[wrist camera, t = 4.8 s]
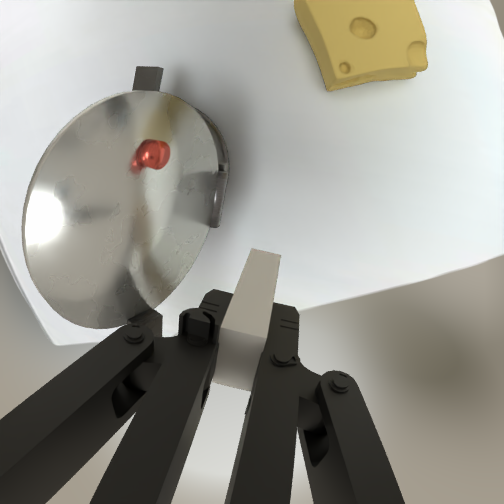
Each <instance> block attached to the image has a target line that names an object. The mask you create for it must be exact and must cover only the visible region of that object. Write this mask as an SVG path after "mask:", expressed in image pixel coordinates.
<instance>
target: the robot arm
mask: <svg viewBox="0 0 504 504" xmlns="http://www.w3.org/2000/svg"><path fill="white" fill-rule="evenodd" d="M280 258H281V255H279V254H274V253H270V252H265V251H261V250H257V249H251V251H250V254H249V256H248V259H247V261H246V264H245V266H244V269H243V271H242V274H241V277H240V279H239V282H238V284H237V287H236V289H235V292H234V294H232V293H228V292H224V291H220V290H215V289H213V290H211V291H210V292H208V293H207V294H206V295H205V296H204V298H203V300H202V302H201V304H200V306H199V308H191V309H187V310H185V311H183V312H182V313H181V314H180V315H179V331H178V336H174V337H154V334H153V332H152V330H151V329H149V328H148V327H147V326H144V325H141V324H134V323H132V324H127V325H124V326H122V327H120V328H119V329H117V330H116V331H115V332H113V333H112V334H111V335H109V336H108V337H107V338H105V339H104V340H103V341H101V342H100V343H99V344H98V345H96V346H95V347H93V348H92V349H91V350H90V351H88V352H87V353H86V354H84V355H83V356H82V357H80V358H79V359H78V360H76V361H75V362H74V363H73V364H71V365H70V366H69V367H67V368H66V369H65V370H63V371H62V372H61V373H60V374H58V375H57V376H56V377H54V378H53V379H52V380H50V381H49V382H48V383H46V384H45V385H44V386H43V387H41V388H40V389H39V390H37V391H36V392H35V393H34V394H32V395H31V396H30V397H28V398H27V399H26V400H25V401H23V402H22V403H21V404H20V405H18V406H17V407H16V408H15V409H13V410H12V411H11V412H10V413H8V414H7V415H6V416H4V417H3V418H2V419H1V420H0V504H45V503H46V502H48V501H49V500H50V499H51V498H52V497H53V496H54V495H55V494H56V493H57V492H58V491H59V490H60V489H61V488H62V487H63V486H64V485H65V484H66V483H67V482H68V481H69V480H70V479H71V478H72V477H73V476H74V475H75V474H76V473H77V472H78V471H79V470H80V469H81V468H82V467H83V466H84V465H85V464H86V463H87V462H88V461H89V460H90V459H91V458H92V457H93V456H94V455H95V454H96V453H97V452H98V451H99V449H100V448H101V447H102V446H103V445H104V444H105V443H106V442H107V441H108V440H109V439H110V438H111V437H112V436H113V435H114V434H115V433H116V432H117V431H118V430H119V429H120V428H121V427H122V426H123V425H124V423H126V422H127V420H128V419H130V418H131V416H132V415H133V414H134V413H135V412H136V411H137V412H136V413H135V415H134V417H133V419H132V421H131V423H130V425H129V427H128V429H127V431H126V433H125V435H124V436H123V438H122V441H121V442H120V444H119V446H118V448H117V450H116V452H115V454H114V456H113V458H112V460H111V462H110V464H109V466H108V468H107V470H106V471H105V473H104V475H103V477H102V479H101V481H100V483H99V485H98V487H97V490H96V492H95V493H94V496H93V498H92V499H91V501H90V504H171V501H172V499H173V496H174V493H175V490H176V487H177V484H178V481H179V479H180V476H181V473H182V470H183V467H184V464H185V461H186V458H187V456H188V453H189V450H190V447H191V444H192V441H193V438H194V435H195V432H196V430H197V427H198V424H199V421H200V418H201V415H202V412H203V409H204V406H205V403H206V401H207V398H208V395H209V390H210V384H211V381H212V382H214V383H217V384H221V385H225V386H229V387H233V388H238V389H242V390H246V391H251V395H250V398H249V402H248V405H247V408H246V411H245V414H246V415H245V419H244V423H243V428H242V433H241V437H240V441H239V445H238V451H237V454H236V458H235V462H234V467H233V471H232V475H231V479H230V483H229V487H228V491H227V495H226V499H225V504H290V498H291V488H292V478H293V468H294V458H295V445H296V434H297V430H298V434H299V439H300V443H301V448H302V452H303V457H304V461H305V466H306V470H307V475H308V479H309V484H310V488H311V493H312V498H313V502H314V504H405V502H404V500H403V497H402V494H401V491H400V489H399V486H398V483H397V481H396V478H395V476H394V473H393V470H392V468H391V465H390V463H389V460H388V458H387V455H386V452H385V450H384V447H383V445H382V442H381V440H380V437H379V435H378V433H377V430H376V428H375V425H374V423H373V421H372V418H371V416H370V413H369V411H368V408H367V406H366V404H365V401H364V399H363V396H362V394H361V392H360V390H359V387H358V385H357V383H356V382H355V380H354V379H353V378H352V377H351V376H349V375H348V374H346V373H344V372H341V371H335V370H334V371H328V372H326V373H325V374H323V375H322V376H321V375H318V374H316V373H314V372H312V371H310V370H308V369H307V368H306V367H304V366H303V365H302V363H301V362H300V358H299V357H298V337H299V313H298V312H297V310H296V308H295V307H292V306H288V305H283V304H279V303H274V302H273V300H274V294H275V288H276V282H277V276H278V270H279V264H280ZM212 378H213V380H212Z"/></svg>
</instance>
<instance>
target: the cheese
mask: <svg viewBox="0 0 504 504" xmlns="http://www.w3.org/2000/svg"><path fill="white" fill-rule="evenodd" d="M294 9H295V13H296V16H297V19H298V21H299V23H300V26H301V27H302V29H303V31H304V33H305V35H306V37H307V39H308V41H309V43H310V45H311V47H312V50H313V52H314V54H315V57H316V59H317V62H318V65H319V67H320V70H321V73H322V76H323V79H324V83H325V86H326V89H327V91H334V90H338V89H342V88H347V87H351V86H356V85H360V84H363V83H367V82H371V81H386V80H399V79H411V78H414V77H415V76H416V72H421V71H424V70H426V69H427V67H428V62H427V57H426V44H427V40H426V33H425V30H424V26H423V24H422V21H421V18H420V16H419V13H418V10H417V8H416V5H415V2H414V0H294Z"/></svg>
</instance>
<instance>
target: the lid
mask: <svg viewBox="0 0 504 504" xmlns="http://www.w3.org/2000/svg"><path fill="white" fill-rule="evenodd" d="M228 173H229V172H227V171H223V170H218V159H217V153H216V149H215V145H214V141H213V138H212V136H211V133H210V131H209V129H208V127H207V125H206V123H205V121H204V120H203V119H202V117H201V116H200V115H199V113H198V112H197V111H196V110H195V109H194V108H193V107H191V106H190V105H189V104H188V103H186V102H185V101H183V100H182V99H180V98H178V97H175V96H173V95H171V94H168V93H163V92H159V91H128V92H122V93H118V94H115V95H112V96H109V97H106V98H104V99H102V100H100V101H98V102H96V103H94V104H92V105H90V106H89V107H87V108H86V109H84V110H83V111H82V112H80V113H79V114H78V115H76V116H75V117H74V118H73V119H72V120H70V121H69V122H68V123H67V124H66V125H65V126H64V127H63V128H62V129H61V130H60V131H59V133H58V134H57V135H56V137H55V138H54V139H53V140H52V142H51V143H50V144H49V146H48V147H47V149H46V150H45V152H44V154H43V155H42V157H41V159H40V161H39V163H38V164H37V166H36V169H35V171H34V174H33V176H32V179H31V181H30V184H29V186H28V190H27V194H26V198H25V203H24V207H23V217H22V246H23V252H24V257H25V261H26V265H27V268H28V271H29V273H30V276H31V279H32V281H33V283H34V284H35V286H36V288H37V290H38V291H39V293H40V294H41V295H42V297H43V298H44V299H45V300H46V301H47V303H48V304H49V305H50V306H51V307H52V308H53V310H55V311H56V312H57V313H58V314H59V315H61V316H62V317H63V318H65V319H66V320H68V321H70V322H72V323H74V324H77V325H80V326H83V327H86V328H93V329H108V328H114V327H119V326H122V325H125V324H132V323H134V324H141V325H144V326H147V327H148V328H149V329H151V330H152V332H153V334H154V337H162V319H163V315H161V314H160V313H158V312H157V311H155V310H154V308H156V307H157V306H158V305H159V304H160V303H162V302H163V301H164V300H165V299H166V298H167V297H168V296H169V295H170V294H171V293H172V292H173V291H174V290H175V289H176V287H177V286H178V285H179V284H180V282H181V281H182V280H183V278H184V277H185V276H186V274H187V273H188V271H189V270H190V268H191V267H192V265H193V263H194V261H195V260H196V258H197V256H198V254H199V252H200V250H201V248H202V246H203V244H204V241H205V239H206V237H207V234H208V231H209V228H210V227H212V228H217V227H219V226H220V220H221V214H222V208H223V202H224V196H225V190H226V184H227V179H228ZM136 412H137V411H136Z"/></svg>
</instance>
